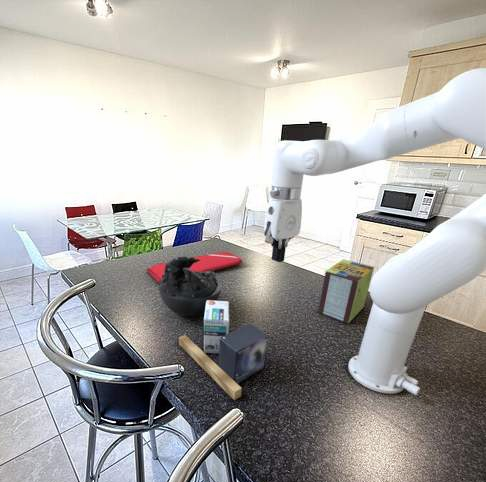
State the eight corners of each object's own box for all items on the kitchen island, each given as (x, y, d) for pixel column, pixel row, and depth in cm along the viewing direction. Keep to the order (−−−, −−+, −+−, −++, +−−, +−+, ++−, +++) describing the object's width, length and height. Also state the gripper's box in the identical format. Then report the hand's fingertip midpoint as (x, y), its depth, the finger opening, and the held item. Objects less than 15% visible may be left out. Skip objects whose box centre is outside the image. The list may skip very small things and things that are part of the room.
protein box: (364, 307, 103) (374, 266, 97) (348, 324, 93) (359, 280, 87) (334, 297, 110) (343, 258, 103) (316, 312, 99) (324, 270, 93)
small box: (234, 388, 67) (236, 351, 63) (216, 372, 72) (217, 337, 68) (265, 369, 73) (269, 334, 69) (246, 355, 78) (249, 322, 74)
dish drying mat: (146, 271, 128) (146, 263, 127) (224, 256, 148) (224, 249, 146) (160, 285, 116) (159, 276, 114) (243, 266, 135) (243, 259, 134)
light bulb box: (228, 355, 78) (229, 320, 74) (203, 353, 78) (203, 319, 74) (228, 331, 88) (229, 300, 84) (205, 330, 88) (206, 299, 84)
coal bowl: (183, 292, 110) (182, 245, 103) (230, 307, 101) (233, 256, 94) (147, 317, 94) (143, 263, 87) (200, 336, 85) (200, 278, 78)
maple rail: (241, 396, 65) (241, 388, 64) (234, 400, 64) (234, 392, 63) (185, 342, 83) (185, 334, 82) (179, 344, 82) (178, 337, 81)
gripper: (276, 198, 68) (268, 270, 75) (315, 193, 76) (305, 259, 84) (254, 193, 73) (249, 261, 81) (293, 190, 82) (285, 252, 89)
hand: (277, 260), depth 82 cm, fingers closed
